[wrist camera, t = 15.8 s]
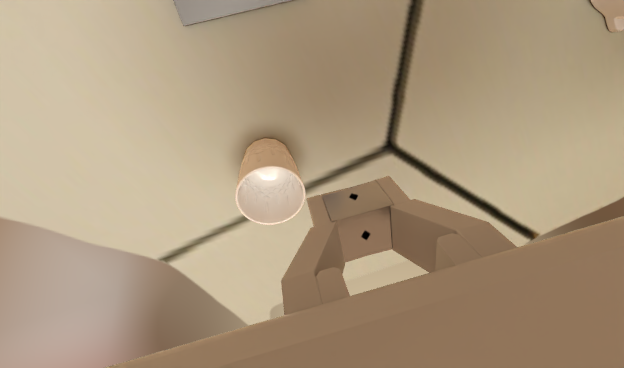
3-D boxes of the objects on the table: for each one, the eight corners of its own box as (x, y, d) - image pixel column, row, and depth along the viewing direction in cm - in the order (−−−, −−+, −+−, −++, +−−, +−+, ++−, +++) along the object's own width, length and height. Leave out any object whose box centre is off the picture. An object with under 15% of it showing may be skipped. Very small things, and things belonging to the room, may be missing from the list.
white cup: (249, 125, 37) (247, 157, 29) (303, 144, 40) (316, 177, 32) (232, 175, 41) (226, 216, 32) (283, 189, 43) (290, 230, 35)
